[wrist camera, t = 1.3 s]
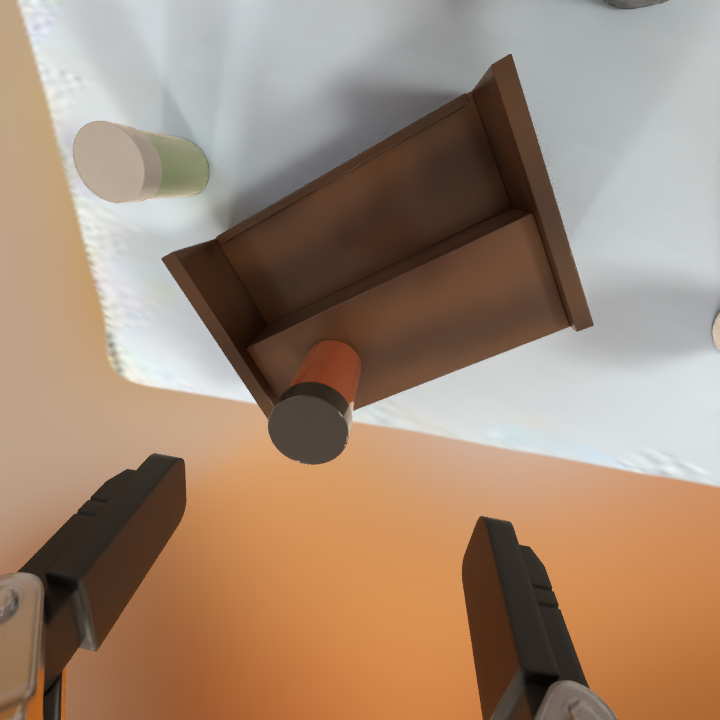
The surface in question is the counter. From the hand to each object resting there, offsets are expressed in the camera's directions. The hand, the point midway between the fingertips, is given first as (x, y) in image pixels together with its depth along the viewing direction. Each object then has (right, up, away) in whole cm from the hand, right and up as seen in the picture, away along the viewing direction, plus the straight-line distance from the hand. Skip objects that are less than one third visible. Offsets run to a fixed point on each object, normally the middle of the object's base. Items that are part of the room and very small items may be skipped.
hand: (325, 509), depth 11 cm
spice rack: (+3, +12, +23) cm, 26 cm away
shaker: (-13, +19, +21) cm, 32 cm away
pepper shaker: (-1, +4, +17) cm, 17 cm away
